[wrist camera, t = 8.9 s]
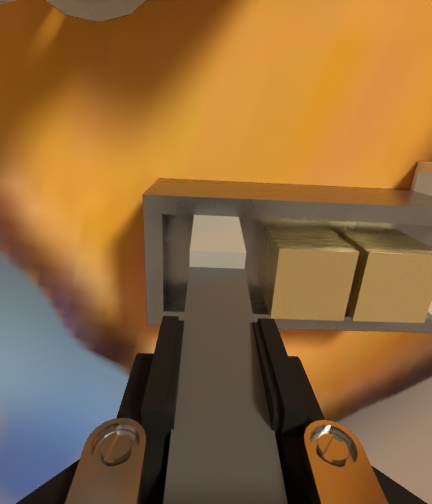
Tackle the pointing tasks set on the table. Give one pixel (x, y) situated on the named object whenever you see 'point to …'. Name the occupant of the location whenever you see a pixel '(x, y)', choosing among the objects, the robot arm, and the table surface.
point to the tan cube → (306, 273)
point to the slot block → (253, 230)
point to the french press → (94, 8)
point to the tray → (423, 185)
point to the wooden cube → (389, 277)
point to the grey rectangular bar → (221, 383)
